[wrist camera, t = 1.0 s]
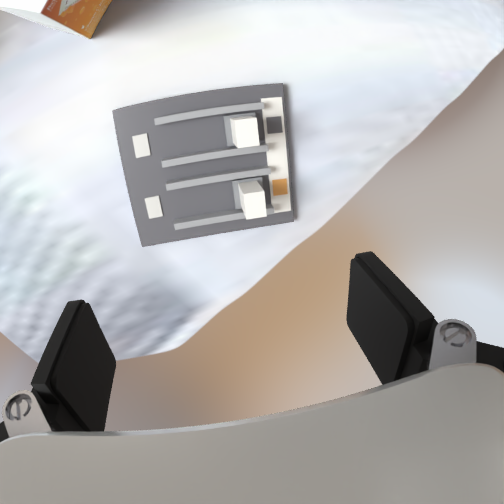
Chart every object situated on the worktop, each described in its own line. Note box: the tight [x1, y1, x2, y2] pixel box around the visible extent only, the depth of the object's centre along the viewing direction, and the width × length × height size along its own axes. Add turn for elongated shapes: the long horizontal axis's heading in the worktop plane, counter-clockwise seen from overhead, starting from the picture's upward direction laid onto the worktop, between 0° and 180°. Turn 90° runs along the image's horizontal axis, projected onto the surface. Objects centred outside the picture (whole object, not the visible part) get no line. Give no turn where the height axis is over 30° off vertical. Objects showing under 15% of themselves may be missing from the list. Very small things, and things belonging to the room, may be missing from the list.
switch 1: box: [223, 112, 260, 148], centre depth 29 cm, size 3×3×5 cm
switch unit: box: [112, 83, 294, 247], centre depth 33 cm, size 18×16×2 cm
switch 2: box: [232, 176, 267, 220], centre depth 33 cm, size 3×3×5 cm
